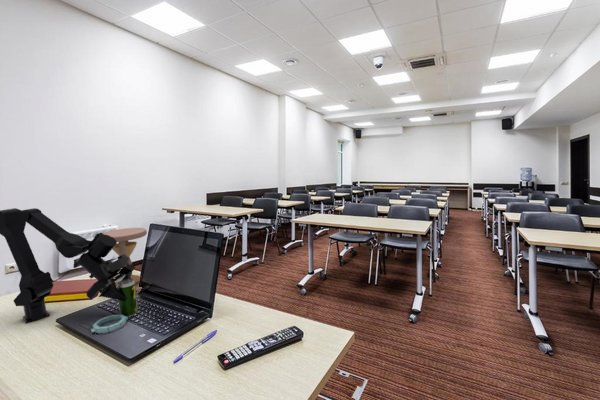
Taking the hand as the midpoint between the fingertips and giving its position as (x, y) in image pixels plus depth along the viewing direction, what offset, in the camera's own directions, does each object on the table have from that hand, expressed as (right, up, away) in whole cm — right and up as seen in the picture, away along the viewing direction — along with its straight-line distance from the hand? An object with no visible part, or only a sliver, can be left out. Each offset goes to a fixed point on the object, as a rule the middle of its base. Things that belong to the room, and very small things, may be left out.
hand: (131, 296), depth 104 cm
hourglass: (-14, -5, +24) cm, 28 cm away
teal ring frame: (-3, -8, -6) cm, 11 cm away
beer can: (-1, -7, +1) cm, 7 cm away
